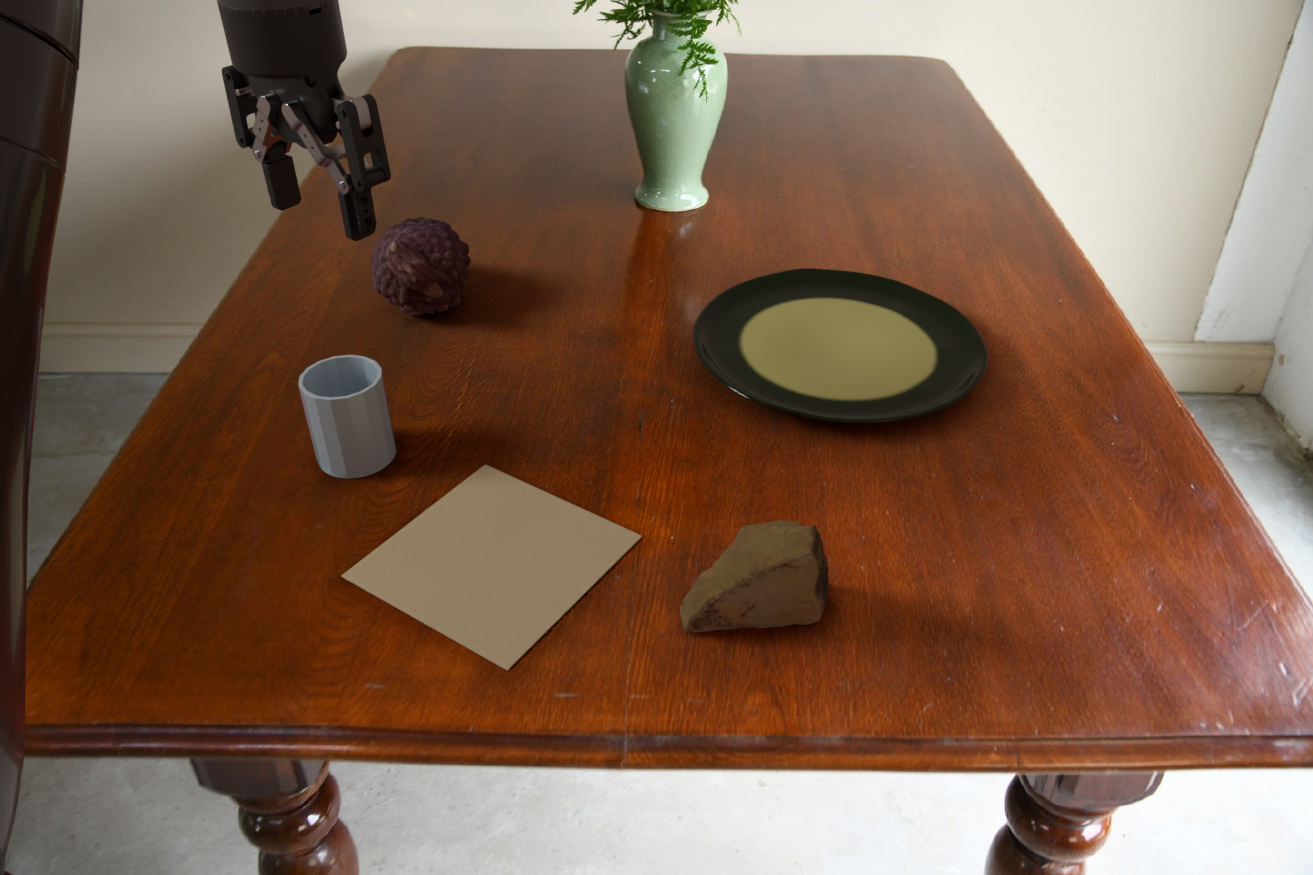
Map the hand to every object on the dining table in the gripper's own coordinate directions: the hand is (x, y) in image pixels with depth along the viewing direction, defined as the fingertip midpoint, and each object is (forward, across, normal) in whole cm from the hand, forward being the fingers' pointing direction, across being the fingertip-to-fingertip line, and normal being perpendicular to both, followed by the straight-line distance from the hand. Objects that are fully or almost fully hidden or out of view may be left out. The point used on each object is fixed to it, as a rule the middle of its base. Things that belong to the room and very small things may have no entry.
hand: (324, 221), depth 76 cm
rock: (+21, +37, +3) cm, 43 cm away
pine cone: (+21, -15, +20) cm, 33 cm away
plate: (+21, +25, +37) cm, 49 cm away
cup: (+21, 0, -2) cm, 21 cm away
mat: (+21, +18, -4) cm, 28 cm away
